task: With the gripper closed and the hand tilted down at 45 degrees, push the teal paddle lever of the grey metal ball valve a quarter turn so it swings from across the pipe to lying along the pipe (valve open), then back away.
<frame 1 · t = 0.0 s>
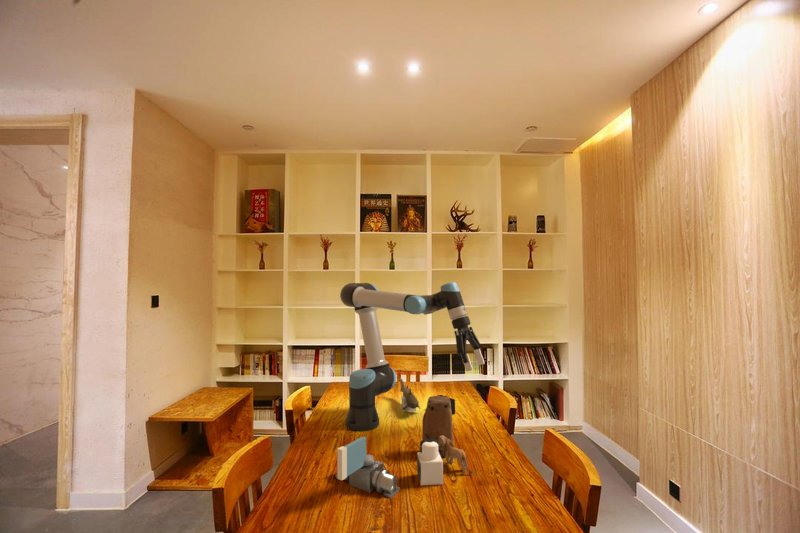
hand: (476, 367, 151), 28 cm above the table, tool tilted 20°, fingers open, 13 cm apart
valve: (366, 483, 114), on the table
medicine bottle: (430, 480, 116), on the table
lever: (356, 454, 111), point 11 cm above the table, hinge at 0.0°
lion figurine: (453, 467, 124), on the table
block: (437, 454, 135), on the table
digital camera: (445, 412, 180), on the table
wood carving: (407, 408, 187), on the table
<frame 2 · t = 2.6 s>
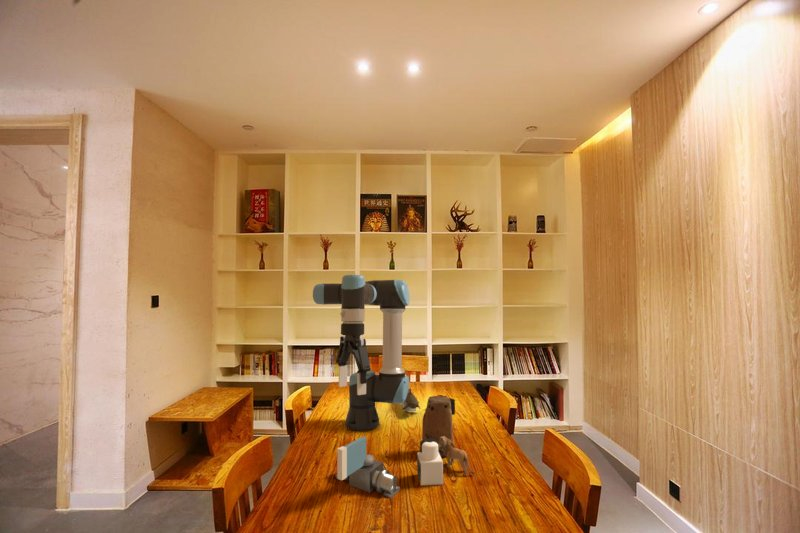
hand: (351, 390, 116), 29 cm above the table, tool pointing down, fingers open, 13 cm apart
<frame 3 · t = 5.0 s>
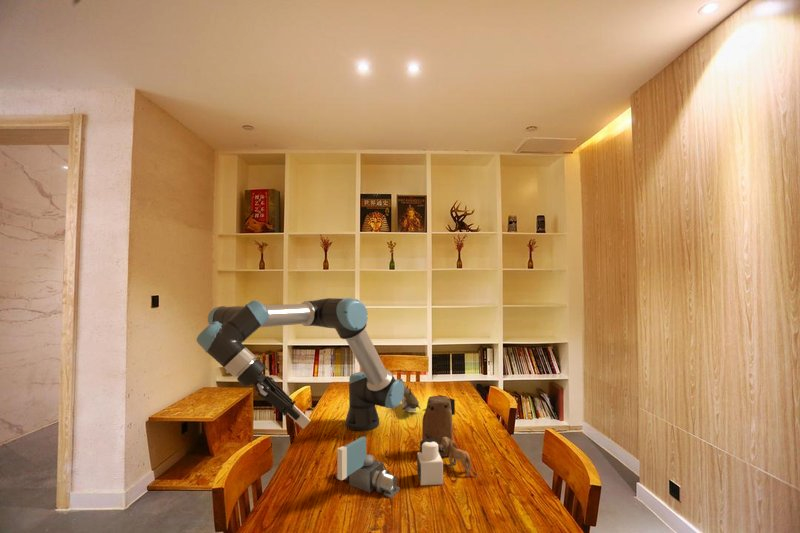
hand: (306, 424, 105), 22 cm above the table, tool tilted 45°, fingers closed
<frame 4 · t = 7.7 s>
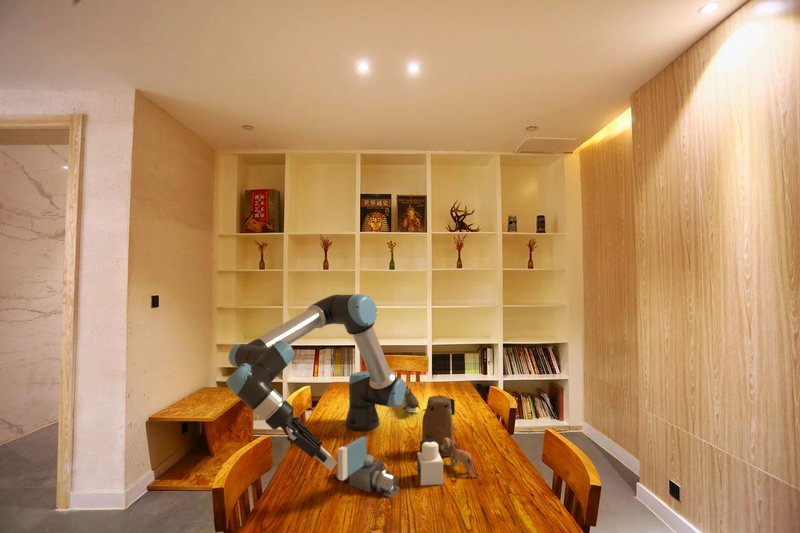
hand: (333, 466, 105), 10 cm above the table, tool tilted 45°, fingers closed
lever: (356, 455, 111), point 11 cm above the table, hinge at 0.9°, touching gripper
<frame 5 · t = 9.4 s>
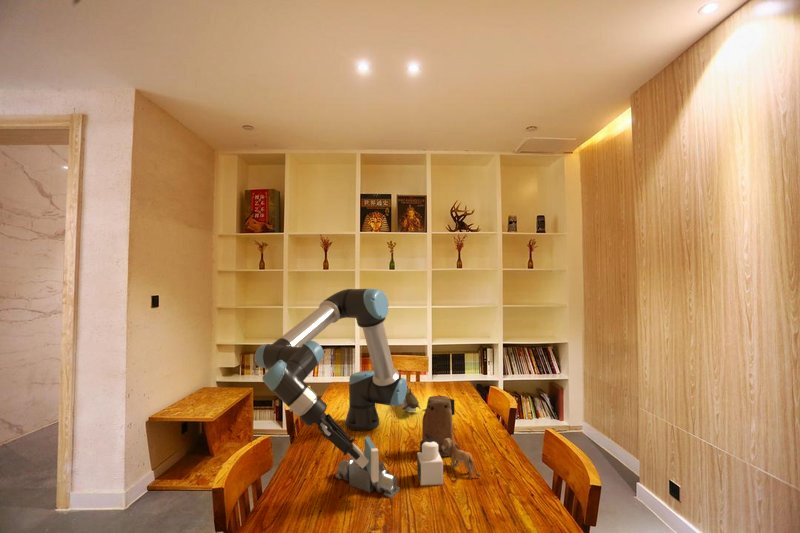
hand: (365, 463, 106), 10 cm above the table, tool tilted 45°, fingers closed
lever: (369, 455, 110), point 11 cm above the table, hinge at 50.7°, touching gripper
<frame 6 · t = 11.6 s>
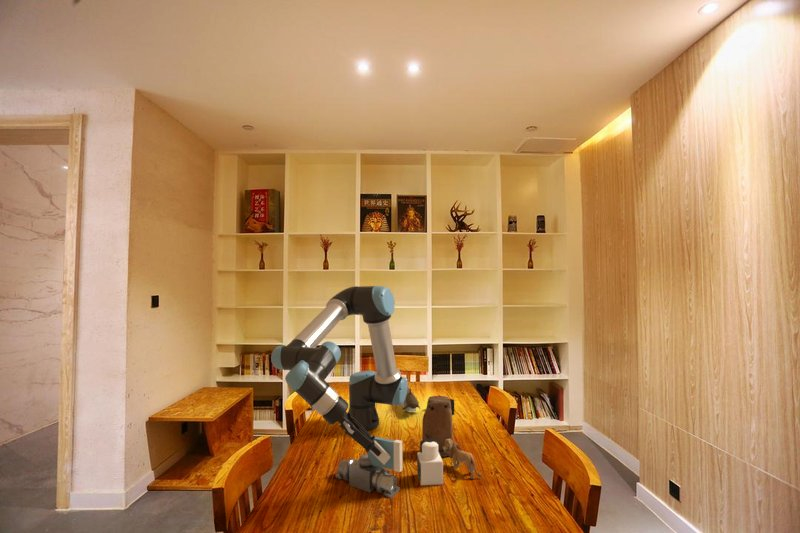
hand: (386, 459, 109), 10 cm above the table, tool tilted 45°, fingers closed
lever: (380, 451, 113), point 11 cm above the table, hinge at 96.1°, touching gripper
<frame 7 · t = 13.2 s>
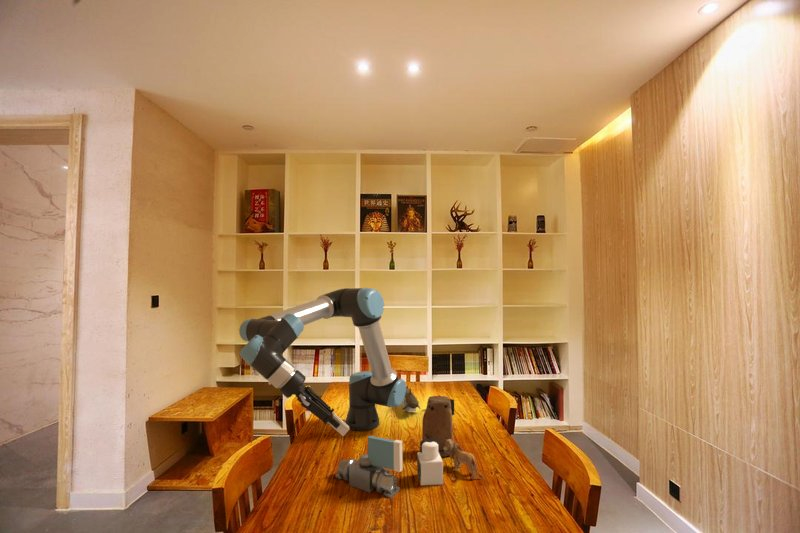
hand: (346, 431, 109), 18 cm above the table, tool tilted 45°, fingers closed
lever: (380, 451, 113), point 11 cm above the table, hinge at 96.1°
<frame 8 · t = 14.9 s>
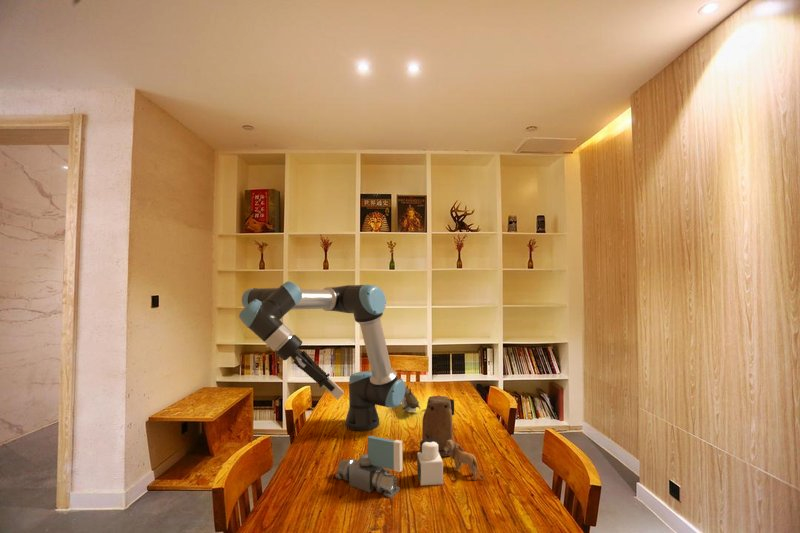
hand: (340, 395, 112), 28 cm above the table, tool tilted 45°, fingers closed
at the end: lever at +96° (first picture: +0°) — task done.
